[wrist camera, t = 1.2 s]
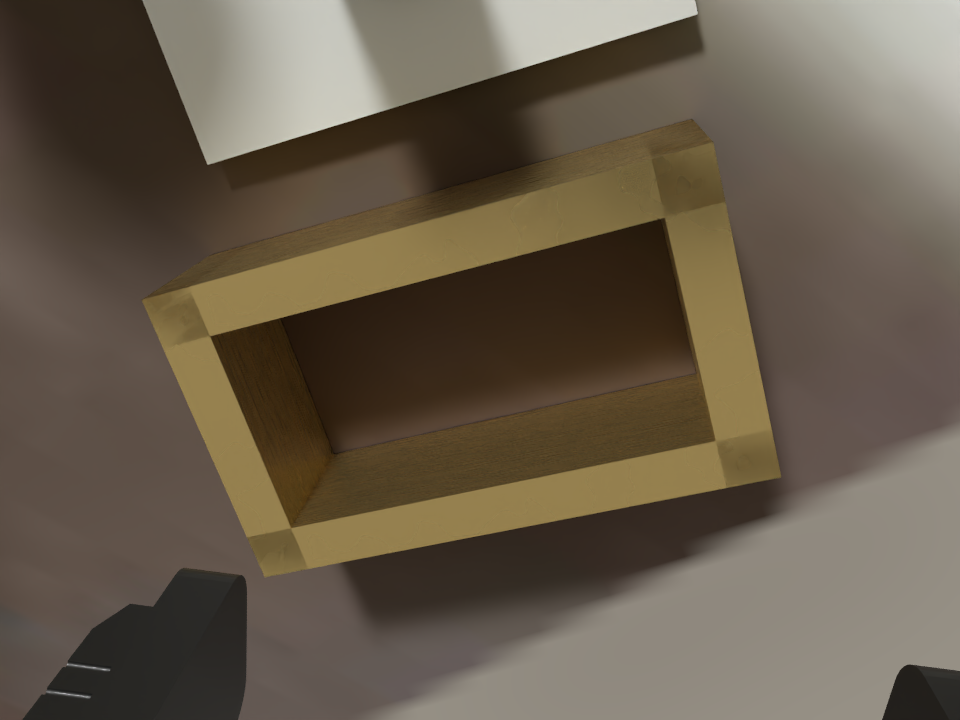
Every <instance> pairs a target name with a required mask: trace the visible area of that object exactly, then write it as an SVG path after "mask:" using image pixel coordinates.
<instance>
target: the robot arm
mask: <svg viewBox="0 0 960 720" xmlns="http://www.w3.org/2000/svg"><path fill="white" fill-rule="evenodd" d="M246 642H247V586H246V581H245V578H244V577H243V576H242V575H235V574H227V573H219V572H212V571H204V570H197V569H189V568H183V569H181V570H179V571H178V572H177V574H176V575H175V576H174V578H173V579H172V581H171V582H170V584H169V585H168V586H167V588H166V589H165V591H164V592H163V594H162V595H161V597H160V598H159V599H158V601H157V602H156V604H155V605H154V607H150V606H143V605H135V604H129V605H128V606H126V607H125V608H123V609H122V610H120V611H119V612H117V613H116V614H114V615H113V616H111V617H110V618H108V619H107V620H105V621H104V622H102V623H101V624H99V625H98V626H96V627H94V628H93V629H92V630H91V631H90V633H89V634H88V635H87V637H86V638H85V639H84V640H83V642H82V643H81V644H80V646H79V647H78V648H77V650H76V651H75V652H74V653H73V655H72V656H71V657H70V659H69V660H68V664H67V667H63V668H62V669H61V670H60V672H59V673H58V674H57V675H56V677H55V678H54V679H53V681H52V682H51V683H50V685H49V686H48V687H47V692H46V694H45V695H41V696H40V697H39V699H38V700H37V701H36V703H35V704H34V705H33V707H32V708H31V709H30V710H29V712H28V713H27V714H26V716H25V717H24V718H23V720H238V717H239V714H240V710H241V707H242V702H243V697H244V691H245V684H246ZM882 720H960V671H955V670H947V669H940V668H932V667H925V666H917V665H906V666H904V667H903V668H902V669H901V670H900V672H899V673H898V675H897V677H896V680H895V683H894V686H893V689H892V692H891V695H890V698H889V701H888V704H887V707H886V710H885V713H884V716H883V719H882Z"/></svg>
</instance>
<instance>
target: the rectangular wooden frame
mask: <svg viewBox="0 0 960 720" xmlns="http://www.w3.org/2000/svg"><path fill="white" fill-rule="evenodd" d="M657 219H661V222H662V226H663V230H664V235H665V239H666V244H667V248H668V252H669V257H670V261H671V265H672V270H673V274H674V278H675V283H676V287H677V291H678V296H679V300H680V304H681V309H682V313H683V318H684V322H685V326H686V331H687V335H688V339H689V344H690V348H691V352H692V357H693V361H694V365H695V370H696V374H694V375H689V376H685V377H680V378H676V379H671V380H667V381H662V382H658V383H653V384H649V385H644V386H640V387H635V388H631V389H626V390H622V391H617V392H613V393H608V394H603V395H599V396H594V397H590V398H585V399H581V400H576V401H572V402H567V403H563V404H558V405H554V406H549V407H545V408H540V409H536V410H531V411H527V412H522V413H518V414H513V415H509V416H504V417H500V418H495V419H491V420H486V421H482V422H477V423H473V424H468V425H464V426H459V427H455V428H450V429H446V430H441V431H437V432H432V433H428V434H423V435H419V436H414V437H410V438H405V439H401V440H396V441H392V442H387V443H383V444H378V445H374V446H369V447H365V448H360V449H356V450H351V451H347V452H342V453H338V454H333V451H332V449H331V446H330V444H329V441H328V438H327V436H326V433H325V431H324V428H323V426H322V423H321V421H320V418H319V415H318V413H317V410H316V408H315V405H314V403H313V400H312V398H311V395H310V392H309V390H308V387H307V385H306V382H305V380H304V377H303V375H302V372H301V369H300V367H299V364H298V362H297V359H296V357H295V354H294V352H293V349H292V347H291V344H290V341H289V339H288V336H287V334H286V331H285V329H284V326H283V324H282V321H281V318H282V317H286V316H290V315H294V314H297V313H301V312H305V311H309V310H313V309H317V308H320V307H324V306H328V305H332V304H336V303H340V302H343V301H347V300H351V299H355V298H359V297H363V296H366V295H370V294H374V293H378V292H382V291H385V290H389V289H393V288H397V287H401V286H405V285H408V284H412V283H416V282H420V281H424V280H428V279H431V278H435V277H439V276H443V275H447V274H451V273H454V272H458V271H462V270H466V269H470V268H474V267H477V266H481V265H485V264H489V263H493V262H497V261H500V260H504V259H508V258H512V257H516V256H520V255H523V254H527V253H531V252H535V251H539V250H543V249H546V248H550V247H554V246H558V245H562V244H566V243H569V242H573V241H577V240H581V239H585V238H589V237H592V236H596V235H600V234H604V233H608V232H612V231H615V230H619V229H623V228H627V227H631V226H635V225H638V224H642V223H646V222H650V221H654V220H657ZM142 302H143V304H144V306H145V308H146V311H147V313H148V315H149V317H150V320H151V322H152V324H153V326H154V329H155V331H156V333H157V335H158V338H159V340H160V342H161V344H162V347H163V349H164V351H165V354H166V356H167V358H168V360H169V363H170V365H171V367H172V369H173V372H174V374H175V376H176V378H177V381H178V383H179V385H180V387H181V390H182V392H183V394H184V396H185V399H186V401H187V403H188V405H189V408H190V410H191V412H192V414H193V417H194V419H195V421H196V423H197V426H198V428H199V430H200V432H201V435H202V437H203V439H204V441H205V444H206V446H207V448H208V450H209V453H210V455H211V457H212V459H213V462H214V464H215V466H216V468H217V471H218V473H219V475H220V477H221V480H222V482H223V484H224V486H225V489H226V491H227V493H228V495H229V498H230V500H231V502H232V504H233V507H234V509H235V511H236V513H237V516H238V518H239V520H240V522H241V525H242V527H243V529H244V531H245V534H246V536H247V538H248V540H249V543H250V545H251V547H252V549H253V552H254V554H255V556H256V558H257V561H258V563H259V565H260V567H261V570H262V572H263V574H264V576H265V577H269V576H274V575H279V574H284V573H289V572H294V571H300V570H305V569H310V568H315V567H320V566H325V565H331V564H336V563H341V562H346V561H351V560H356V559H362V558H367V557H372V556H377V555H382V554H387V553H393V552H398V551H403V550H408V549H413V548H418V547H424V546H429V545H434V544H439V543H444V542H450V541H455V540H460V539H465V538H470V537H475V536H481V535H486V534H491V533H496V532H501V531H506V530H512V529H517V528H522V527H527V526H532V525H537V524H543V523H548V522H553V521H558V520H563V519H568V518H574V517H579V516H584V515H589V514H594V513H599V512H605V511H610V510H615V509H620V508H625V507H630V506H636V505H641V504H646V503H651V502H656V501H662V500H667V499H672V498H677V497H682V496H687V495H693V494H698V493H703V492H708V491H713V490H718V489H724V488H729V487H734V486H739V485H744V484H749V483H755V482H760V481H765V480H770V479H775V478H780V477H781V473H780V468H779V463H778V458H777V453H776V448H775V443H774V439H773V434H772V429H771V424H770V419H769V414H768V409H767V404H766V399H765V394H764V389H763V384H762V380H761V375H760V370H759V365H758V360H757V355H756V350H755V345H754V340H753V335H752V330H751V325H750V321H749V316H748V311H747V306H746V301H745V296H744V291H743V286H742V281H741V276H740V271H739V267H738V262H737V257H736V252H735V247H734V242H733V237H732V232H731V227H730V222H729V217H728V212H727V208H726V203H725V198H724V193H723V188H722V183H721V178H720V173H719V168H718V163H717V158H716V153H715V149H714V144H713V141H712V140H711V139H710V138H709V137H708V136H707V135H706V134H705V133H704V132H703V130H702V129H701V128H700V127H699V126H698V125H697V124H696V123H695V122H694V121H693V120H692V119H690V120H687V121H683V122H680V123H676V124H673V125H669V126H666V127H662V128H659V129H655V130H651V131H648V132H644V133H641V134H637V135H634V136H630V137H627V138H623V139H620V140H616V141H613V142H609V143H605V144H602V145H598V146H595V147H591V148H588V149H584V150H581V151H577V152H574V153H570V154H567V155H563V156H560V157H556V158H552V159H549V160H545V161H542V162H538V163H535V164H531V165H528V166H524V167H521V168H517V169H514V170H510V171H506V172H503V173H499V174H496V175H492V176H489V177H485V178H482V179H478V180H475V181H471V182H468V183H464V184H461V185H457V186H453V187H450V188H446V189H443V190H439V191H436V192H432V193H429V194H425V195H422V196H418V197H415V198H411V199H407V200H404V201H400V202H397V203H393V204H390V205H386V206H383V207H379V208H376V209H372V210H369V211H365V212H361V213H358V214H354V215H351V216H347V217H344V218H340V219H337V220H333V221H330V222H326V223H323V224H319V225H316V226H312V227H308V228H305V229H301V230H298V231H294V232H291V233H287V234H284V235H280V236H277V237H273V238H270V239H266V240H262V241H259V242H255V243H252V244H248V245H245V246H241V247H238V248H234V249H231V250H227V251H224V252H220V253H217V254H213V255H210V256H208V257H207V258H205V259H204V260H202V261H201V262H199V263H198V264H196V265H195V266H193V267H192V268H190V269H188V270H187V271H185V272H184V273H182V274H181V275H179V276H178V277H176V278H175V279H173V280H171V281H170V282H168V283H167V284H165V285H164V286H162V287H161V288H159V289H158V290H156V291H155V292H153V293H151V294H150V295H148V296H147V297H145V298H144V299H142Z"/></svg>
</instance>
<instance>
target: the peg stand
mask: <svg viewBox="0 0 960 720" xmlns="http://www.w3.org/2000/svg"><path fill="white" fill-rule="evenodd" d="M142 1H143V3H144V6H145V8H146V11H147V13H148V16H149V18H150V21H151V23H152V26H153V29H154V31H155V34H156V36H157V39H158V41H159V44H160V46H161V49H162V51H163V54H164V56H165V59H166V61H167V64H168V66H169V69H170V71H171V74H172V76H173V79H174V81H175V84H176V87H177V89H178V92H179V94H180V97H181V99H182V102H183V104H184V107H185V109H186V112H187V114H188V117H189V119H190V122H191V124H192V127H193V129H194V132H195V134H196V137H197V139H198V142H199V145H200V147H201V150H202V152H203V155H204V157H205V160H206V162H207V165H209V164H212V163H215V162H219V161H222V160H225V159H229V158H232V157H235V156H238V155H242V154H245V153H248V152H251V151H255V150H258V149H261V148H264V147H268V146H271V145H274V144H277V143H281V142H284V141H287V140H290V139H294V138H297V137H300V136H303V135H307V134H310V133H313V132H316V131H320V130H323V129H326V128H329V127H333V126H336V125H339V124H342V123H346V122H349V121H352V120H355V119H359V118H362V117H365V116H368V115H372V114H375V113H378V112H381V111H385V110H388V109H391V108H394V107H398V106H401V105H404V104H407V103H411V102H414V101H417V100H420V99H424V98H427V97H430V96H434V95H437V94H440V93H443V92H447V91H450V90H453V89H456V88H460V87H463V86H466V85H469V84H473V83H476V82H479V81H482V80H486V79H489V78H492V77H495V76H499V75H502V74H505V73H508V72H512V71H515V70H518V69H521V68H525V67H528V66H531V65H534V64H538V63H541V62H544V61H547V60H551V59H554V58H557V57H560V56H564V55H567V54H570V53H573V52H577V51H580V50H583V49H586V48H590V47H593V46H596V45H599V44H603V43H606V42H609V41H612V40H616V39H619V38H622V37H625V36H629V35H632V34H635V33H639V32H642V31H645V30H648V29H652V28H655V27H658V26H661V25H665V24H668V23H671V22H674V21H678V20H681V19H684V18H687V17H691V16H694V15H697V14H698V12H697V7H696V2H695V0H142Z"/></svg>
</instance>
